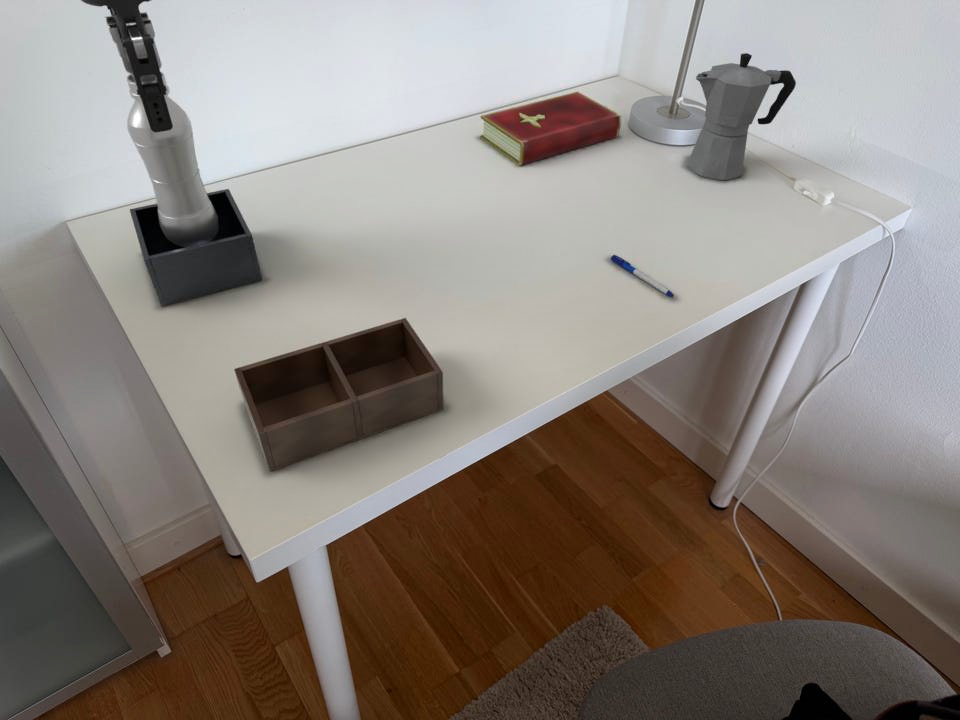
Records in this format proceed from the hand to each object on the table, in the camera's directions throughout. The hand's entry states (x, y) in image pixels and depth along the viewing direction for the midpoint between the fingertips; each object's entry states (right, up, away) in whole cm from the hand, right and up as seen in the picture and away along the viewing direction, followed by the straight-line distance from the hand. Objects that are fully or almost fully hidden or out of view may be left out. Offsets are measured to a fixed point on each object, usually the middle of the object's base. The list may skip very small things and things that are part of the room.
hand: (157, 117), depth 75 cm
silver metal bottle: (0, -12, +11) cm, 16 cm away
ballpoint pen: (+56, -16, +15) cm, 60 cm away
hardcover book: (+47, +12, +44) cm, 66 cm away
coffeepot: (+75, +5, +38) cm, 84 cm away
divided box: (+21, -31, -4) cm, 38 cm away
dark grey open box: (-1, -15, +14) cm, 20 cm away
